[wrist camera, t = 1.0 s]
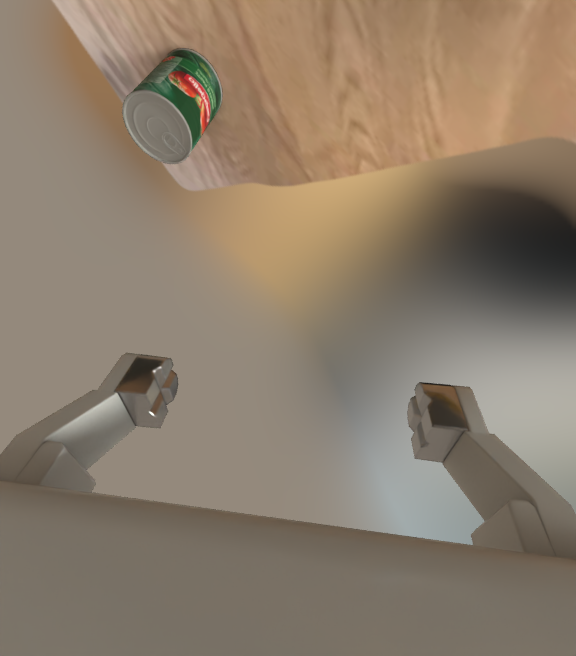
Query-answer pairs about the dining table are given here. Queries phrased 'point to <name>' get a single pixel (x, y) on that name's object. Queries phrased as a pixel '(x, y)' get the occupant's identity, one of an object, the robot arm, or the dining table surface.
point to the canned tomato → (173, 106)
